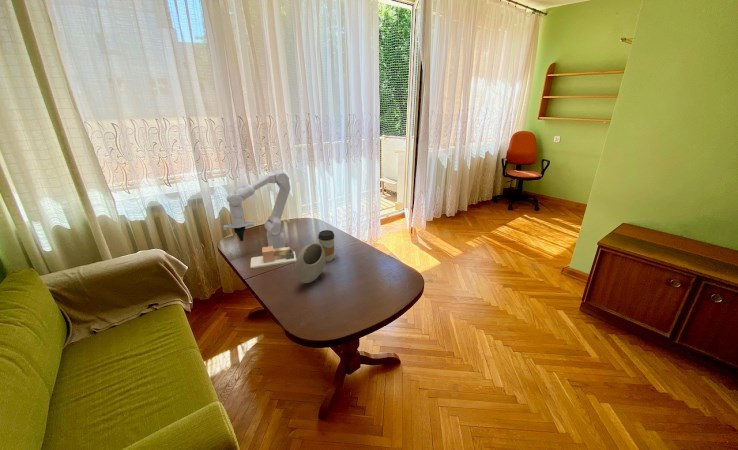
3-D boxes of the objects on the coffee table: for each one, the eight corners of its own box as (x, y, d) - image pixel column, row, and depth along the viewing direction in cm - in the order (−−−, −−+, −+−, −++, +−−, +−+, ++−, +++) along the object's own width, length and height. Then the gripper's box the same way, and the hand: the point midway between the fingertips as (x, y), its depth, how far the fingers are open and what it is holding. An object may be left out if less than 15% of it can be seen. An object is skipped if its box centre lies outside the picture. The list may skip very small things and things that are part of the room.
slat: (290, 254, 158) (289, 246, 156) (290, 257, 156) (289, 249, 154) (267, 258, 155) (265, 250, 153) (267, 261, 152) (265, 252, 150)
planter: (304, 293, 129) (300, 255, 122) (292, 288, 132) (287, 251, 125) (330, 273, 143) (328, 238, 136) (319, 269, 147) (317, 235, 139)
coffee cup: (338, 256, 158) (337, 231, 152) (330, 264, 151) (328, 237, 146) (325, 253, 162) (323, 228, 156) (316, 260, 155) (314, 234, 149)
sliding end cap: (274, 256, 157) (273, 245, 155) (274, 261, 152) (273, 250, 150) (263, 257, 156) (262, 247, 153) (263, 262, 151) (262, 252, 148)
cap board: (294, 252, 162) (294, 246, 161) (296, 261, 154) (295, 255, 152) (251, 259, 156) (250, 252, 155) (250, 268, 147) (249, 262, 146)
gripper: (252, 212, 156) (256, 235, 161) (222, 215, 152) (227, 238, 157) (252, 216, 150) (256, 240, 155) (221, 220, 146) (226, 244, 151)
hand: (241, 240), depth 156 cm, fingers closed
